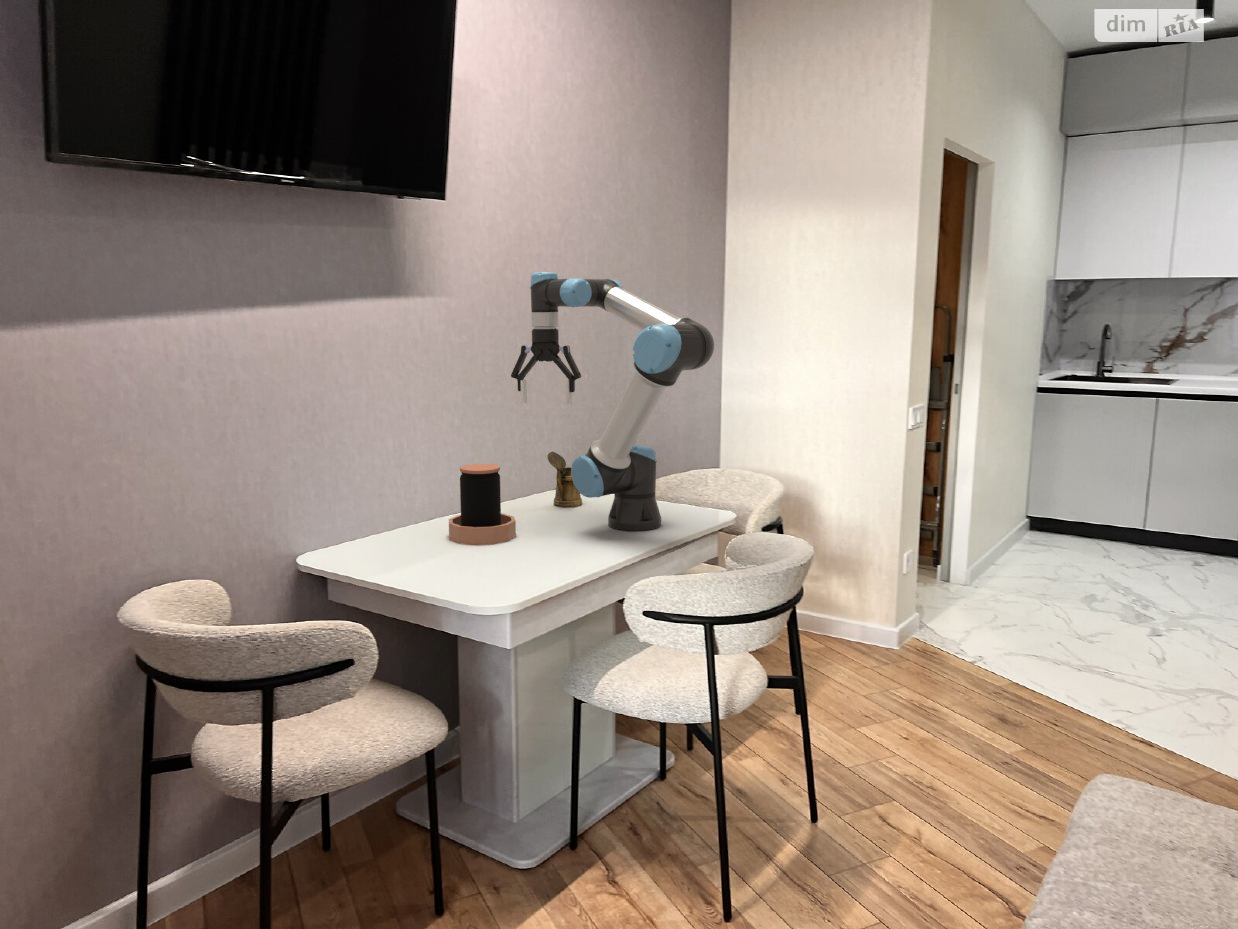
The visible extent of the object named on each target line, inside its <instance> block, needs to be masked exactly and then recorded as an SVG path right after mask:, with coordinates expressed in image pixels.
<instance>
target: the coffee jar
mask: <svg viewBox="0 0 1238 929" xmlns="http://www.w3.org/2000/svg"><path fill="white" fill-rule="evenodd" d="M500 469H501V466H500V465H498V464H494V463H470V464H469V463H468V464H465V465H464V464H463V465H462V466H460V467H459V471H460V472H461V474H460V476H459V489H460V491H459V494H460V495H459V497H460V498H459V499H460V500H459V501H460V515H461V526H468V527H492V526H497V525H501V513H502V508H501V507H502V505H501V504H502V503H501V502H502V501H501V474H500V473H499V471H500Z"/></svg>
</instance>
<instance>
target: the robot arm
mask: <svg viewBox="0 0 1238 929" xmlns="http://www.w3.org/2000/svg"><path fill="white" fill-rule="evenodd" d="M529 288H530V306H531V313H530V314H531V315H530V316H531V317H530V318H531V327H532V330H531V346H529V345H527V344H524V345H521V347H520V354H519V357H518V358H517V361H516V362H515V365H514V367H513V369H512V372H511V374H510V377H511V378H513V379H515V380H516V381H517V391H518V392H520V404H526V403H528V401H527V400H528V396H527V392H528V391H527V388H528V387H527V379H525V378H526V376H527V375H528V374H529V372H530V371H531V370H532V369H533V367H534V366H535V365H536V364H537V363H538V362H547V363H548V362H553V363H554V364H555V365H556V366H557V367H558V368H559V370H560V371H561V373H562V374H563V375H564V376H565V377H566V378H567V380H566V382H565V387H566V388H565V390H566V391H565V393H566V394H565V395H566V397H565V398H566V402H565V403H566V405H572V404H573V397H572V396H573V395H572V394H573V393H574V392H575V391H576V380H578V379H581V378H582V374H581V372H580V370H579V368H578V366H577V364H576V362H575V359H574V358H573V355H572V354H571V347H570V345H568V344H567V345H564V346H563V345H562V346H560V344H559V343H560V342H559V340H560V338H559V337H560V336H559V333H560V332H559V329H558V328H557V327H559V307H561V308H564V307H566V308H567V307H568V308H569V307H570V308H579V307H588V308H589V307H593V308H594V307H596V308H597V307H598V308H601V309H602V310H604V311H606V312H608V313H609V314H612V315H614V316H616V317H617V318H619V319H621V320H623V321H624V322H627V323H628V324H630V325H632V326H634V327H636V328H637V329H640V332H639V333H638V335H637V336H636V338H635V339H634V342H633V346H632V350H633V351H632V352H634V353H633V354H632V356H633V361H634V362H633V367H634V370H635V373H634V375H633V376H632V379H631V380H630V382H629V383H628V386H627V388H626V390H625V392H624V394H623V396H622V398H621V399H620V402H619V403H618V405H617V407H616V409H615V411H614V412H613V415H612V416H611V419H610V420H609V422H608V424H607V427H606V428H605V429H604V431H603V434H602V436H601V438H600V439H595V440H594V441H593V442H592V443H591V445H590V446H589V449H587V452H586V454H581V455H578V456H576V457H575V459H574V460H573V461H572V464H571V466H570V468H571V475H572V479H573V483H574V485H575V487H576V489H577V490H578V491H579V492H580V495H581V496H583V497H585V498H590V499H591V498H592V499H593V498H601V497H605V496H610V495H613V494H614V495H613V496H614V499H613V501H612V505H611V507H610V511H609V513H608V516H607V518H608V520H607V524H608V526H609V527H611V528H613V529H616V530H622V531H636V532H637V531H639V532H641V531H650V530H654V529H657V528H659V527H661V526H662V516H661V512H660V509H659V506H658V502H657V499H656V484H657V483H656V482H657V458H656V456H657V455H656V449H655V448H653V446H648V445H644V444H642V445H641V444H636V443H637V440H638V439H639V437H640V435H641V433H642V432H643V430H644V428H645V426H646V424H647V422H648V420H649V418H650V417H651V415H652V413H653V412H654V410H655V408H656V406H657V405H658V402H659V401H660V400H661V397H662V395H663V394H664V392H665V390H666V388H670V387H673V386H675V384H676V382H677V380H678V379H679V377H680V375H681V373H682V372H683V371H691V370H692V371H693V370H697V369H700V368H702V367H704V366H705V365H706V364H707V363H708V362H709V361H710V360H711V358H712V356H713V354H714V350H715V341H714V337H713V335H712V333H711V331H710V330H709V329H708V328H707V327H706V326H704V325H703V324H701V323H699V322H698V321H696V320H693V319H691V318H689V317H685V316H684V317H679V316H677V315H675V314H673V313H671V312H669V311H667V310H665V309H663V308H661V307H658V306H657V305H655V304H653V303H651V302H650V301H647V300H645V299H644V298H641V297H640V296H637V295H636V294H634V293H632V292H630V291H628V290H625V289H624V287H623V286H622V284H621V282H620V281H619V280H615V279H610V278H602V279H600V278H599V279H598V278H595V279H594V278H592V279H591V278H579V277H570V278H559V277H558V273H557V272H553V271H534V272H533V273H532V274H531V276H530V287H529ZM530 352H531V353H532V357H531V358H530V359H529V361H528V362H527V364H526V365H525V366H524V363H525V360H526V359H527V356H528V354H529V353H530ZM560 352H561V354H563V355H564V358H565V360H566V362H567V364H568V367H569V368H568V367H567V365H566V364H565V363H564V362H563V361H562V359H561V357H560V356H559V353H560ZM523 366H524V367H523ZM522 368H523V369H522ZM521 369H522V370H521Z"/></svg>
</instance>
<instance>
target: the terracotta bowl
mask: <svg viewBox="0 0 1238 929" xmlns="http://www.w3.org/2000/svg"><path fill="white" fill-rule="evenodd" d="M516 523H517V522H516V519H515V516H513V515H510V514H506V513H504V512H503V513H502V512H501V525H497V526H492V527H468V526H461V514H459V515H458V514H457V515H455V516H453V517H451V518H448V538H449V541H450V542H451V541H452V542H454V543H457V544H460V545H461V544H462V545H471V546H479V545H480V546H481V545H482V546H484V545H495V544H501V543H506V542H509V541H511V540H513V539H515V538H516V537H517V533H516V532H517V531H516V530H517V529H516V528H517V526H516V525H517V524H516ZM514 537H515V538H514Z"/></svg>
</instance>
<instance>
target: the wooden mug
mask: <svg viewBox="0 0 1238 929" xmlns="http://www.w3.org/2000/svg"><path fill="white" fill-rule="evenodd" d="M546 458H547V461H548V462H549V464H550V465H551V466H552V467H553V468H554V469H556V488H555V494H554V498H553V506H555V507H559V508H575V507H576V508H577V507H580V506H582V505H583V499H582V497H581V496H582V495H581V493H580V492H579V491H578V490H577V489H576V487H575V485H574V483H573V479H572V475H571V466H569V467H567V463H566V462H567V461H566V460H565V458H564V457H563V456H561V455H560V454H558V453H557V452H555V451H550V452H548V454H547V457H546Z"/></svg>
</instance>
